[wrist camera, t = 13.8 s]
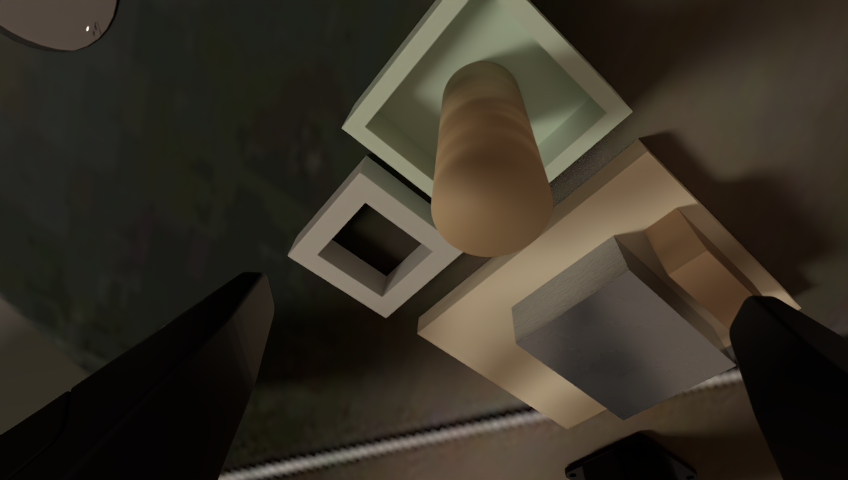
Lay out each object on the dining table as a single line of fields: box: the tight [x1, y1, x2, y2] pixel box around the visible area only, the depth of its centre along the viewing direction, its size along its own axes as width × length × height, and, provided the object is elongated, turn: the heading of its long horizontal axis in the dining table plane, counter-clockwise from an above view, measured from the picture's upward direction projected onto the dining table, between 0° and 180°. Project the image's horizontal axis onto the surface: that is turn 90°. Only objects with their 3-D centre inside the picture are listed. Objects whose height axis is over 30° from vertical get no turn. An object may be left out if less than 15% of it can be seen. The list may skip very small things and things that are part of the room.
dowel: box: [431, 61, 553, 257], centre depth 15 cm, size 3×3×8 cm
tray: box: [342, 0, 633, 198], centre depth 18 cm, size 7×7×2 cm
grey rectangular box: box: [511, 236, 736, 420], centre depth 22 cm, size 8×6×2 cm
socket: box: [288, 156, 463, 318], centre depth 22 cm, size 6×6×2 cm
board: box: [417, 139, 801, 429], centre depth 23 cm, size 12×14×4 cm
